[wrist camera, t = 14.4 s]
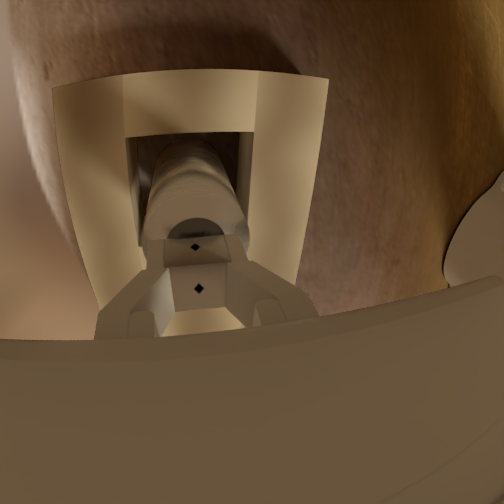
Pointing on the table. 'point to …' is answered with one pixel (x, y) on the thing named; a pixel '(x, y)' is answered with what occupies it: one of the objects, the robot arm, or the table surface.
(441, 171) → the table surface
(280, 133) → the frame
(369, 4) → the table surface
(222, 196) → the bushing
